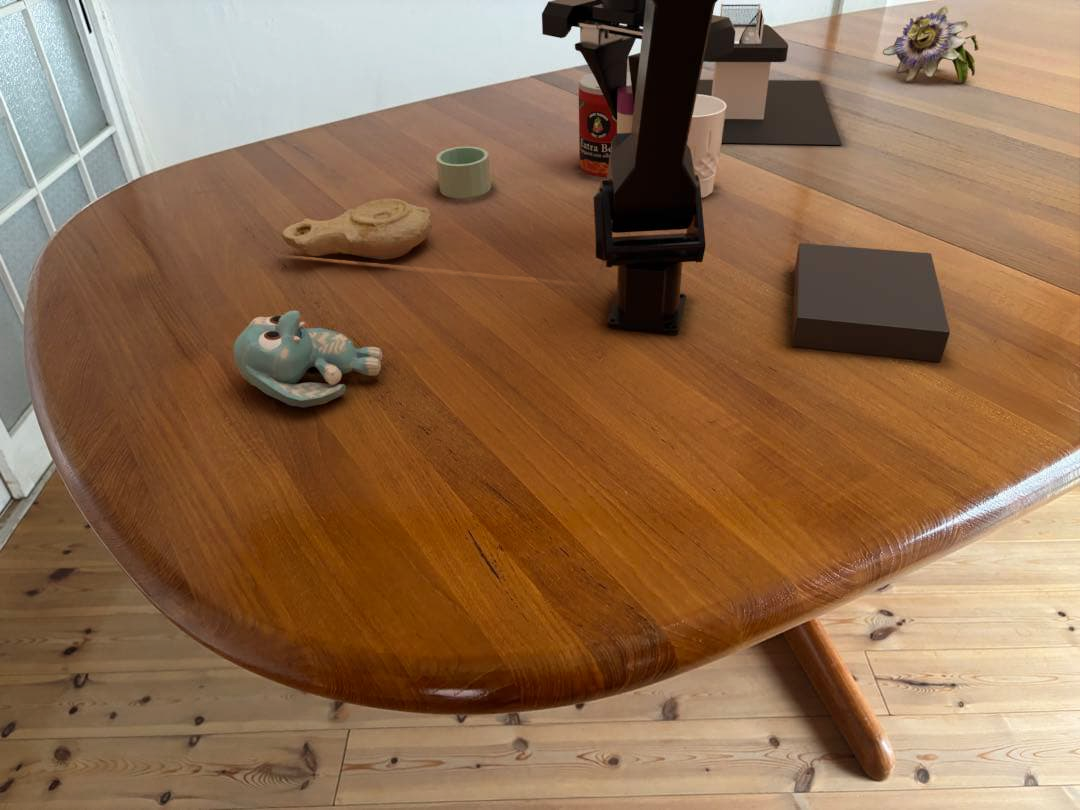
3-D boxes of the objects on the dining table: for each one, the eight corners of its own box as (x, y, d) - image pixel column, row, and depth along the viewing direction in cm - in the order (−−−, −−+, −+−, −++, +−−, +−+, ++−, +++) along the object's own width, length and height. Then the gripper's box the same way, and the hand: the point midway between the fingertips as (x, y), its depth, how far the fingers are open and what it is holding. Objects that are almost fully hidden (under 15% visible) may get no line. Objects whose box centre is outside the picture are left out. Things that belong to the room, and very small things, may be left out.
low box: (940, 362, 68) (950, 331, 66) (791, 346, 71) (797, 317, 69) (923, 281, 79) (931, 252, 77) (794, 270, 82) (799, 242, 80)
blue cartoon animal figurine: (377, 356, 62) (213, 342, 61) (374, 429, 67) (221, 418, 65) (388, 287, 71) (244, 273, 69) (385, 355, 75) (249, 343, 73)
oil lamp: (283, 261, 87) (272, 217, 84) (397, 220, 94) (390, 178, 91) (332, 297, 81) (322, 251, 78) (450, 250, 88) (445, 206, 85)
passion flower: (903, 116, 131) (868, 48, 127) (931, 86, 136) (899, 20, 132) (971, 87, 121) (936, 13, 118) (999, 55, 126) (966, -16, 123)
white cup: (717, 204, 94) (725, 117, 88) (648, 201, 96) (652, 115, 90) (719, 178, 100) (727, 94, 94) (654, 175, 102) (658, 93, 96)
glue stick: (640, 176, 82) (643, 94, 77) (613, 174, 82) (615, 93, 78) (644, 166, 84) (647, 85, 79) (618, 165, 84) (619, 84, 80)
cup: (482, 203, 97) (478, 167, 94) (433, 200, 98) (428, 164, 96) (497, 183, 102) (494, 147, 99) (450, 180, 103) (446, 145, 100)
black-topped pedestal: (842, 145, 107) (862, 37, 99) (640, 142, 111) (644, 37, 103) (818, 81, 129) (834, -12, 121) (651, 80, 133) (655, -11, 125)
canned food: (569, 175, 103) (567, 85, 96) (595, 153, 108) (596, 66, 102) (625, 184, 100) (628, 92, 93) (650, 161, 105) (654, 72, 99)
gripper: (781, -65, 70) (759, 120, 79) (616, -79, 81) (613, 85, 90) (702, -46, 64) (688, 152, 73) (534, -64, 74) (541, 110, 84)
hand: (630, 121), depth 80 cm, fingers closed on glue stick, 3 cm apart
